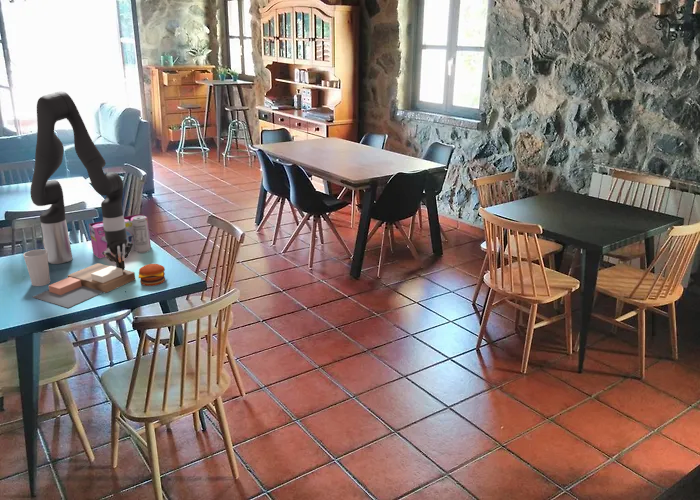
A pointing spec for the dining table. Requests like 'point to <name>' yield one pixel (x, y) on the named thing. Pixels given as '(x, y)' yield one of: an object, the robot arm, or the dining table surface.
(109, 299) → the dining table surface
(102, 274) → the cream card box
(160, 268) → the hamburger
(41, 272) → the cup
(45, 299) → the slate mat
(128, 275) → the walnut board
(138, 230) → the energy drink can
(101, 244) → the gum box
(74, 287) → the terracotta card box
